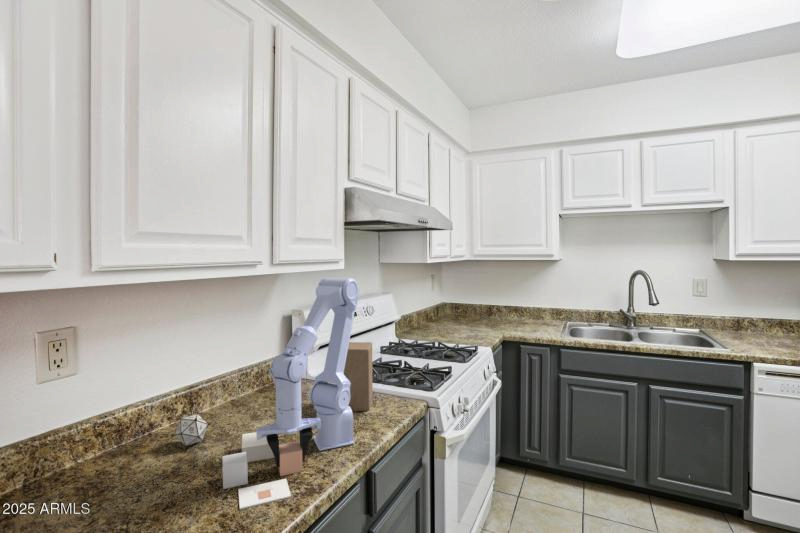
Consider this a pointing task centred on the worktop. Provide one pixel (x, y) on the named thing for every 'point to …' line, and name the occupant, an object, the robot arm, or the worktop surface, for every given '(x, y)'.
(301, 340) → the robot arm
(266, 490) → the card
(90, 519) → the worktop surface
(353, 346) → the wooden block
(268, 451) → the cream base block
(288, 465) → the terracotta cube
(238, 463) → the white cube
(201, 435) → the game die
